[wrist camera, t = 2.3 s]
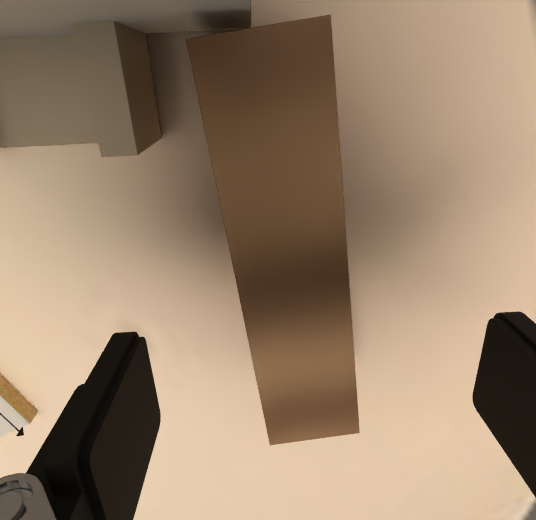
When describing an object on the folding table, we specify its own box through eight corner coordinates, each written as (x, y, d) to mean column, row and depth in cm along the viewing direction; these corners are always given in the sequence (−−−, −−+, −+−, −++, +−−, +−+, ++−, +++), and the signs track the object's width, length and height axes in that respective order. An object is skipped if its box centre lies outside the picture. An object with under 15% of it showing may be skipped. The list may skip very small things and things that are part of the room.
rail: (206, 49, 16) (185, 38, 11) (305, 33, 16) (330, 14, 11) (265, 363, 23) (270, 445, 18) (335, 353, 23) (359, 432, 18)
